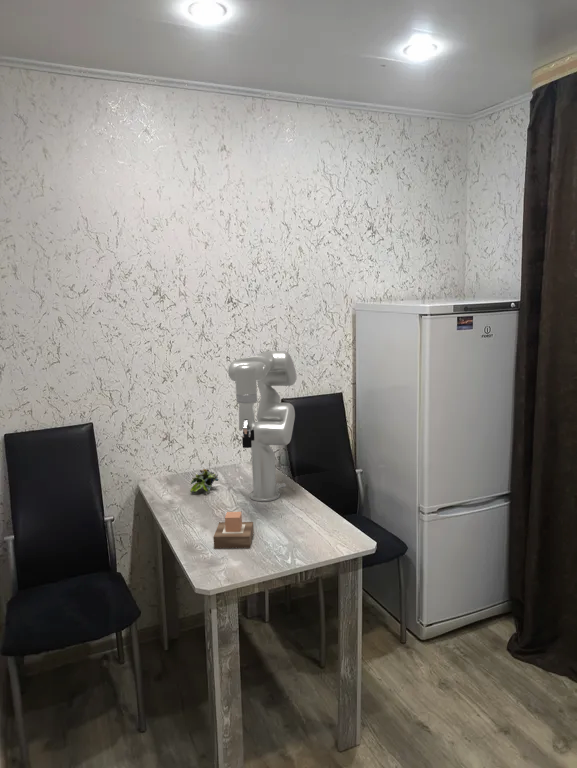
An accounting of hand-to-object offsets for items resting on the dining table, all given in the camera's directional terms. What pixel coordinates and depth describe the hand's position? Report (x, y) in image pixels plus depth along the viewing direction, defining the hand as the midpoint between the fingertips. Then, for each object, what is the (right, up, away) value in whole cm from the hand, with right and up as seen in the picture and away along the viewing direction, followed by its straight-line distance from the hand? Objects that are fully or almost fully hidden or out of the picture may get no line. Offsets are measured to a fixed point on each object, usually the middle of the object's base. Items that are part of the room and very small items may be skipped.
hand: (248, 443), depth 207 cm
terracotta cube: (-4, -27, -16) cm, 32 cm away
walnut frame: (-4, -31, -15) cm, 35 cm away
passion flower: (-21, -24, +33) cm, 46 cm away
